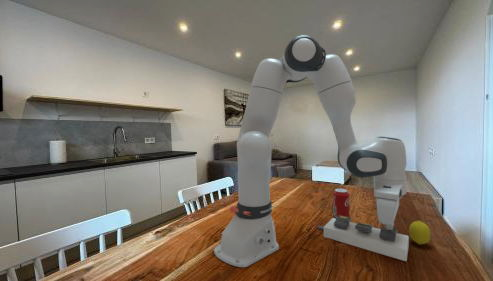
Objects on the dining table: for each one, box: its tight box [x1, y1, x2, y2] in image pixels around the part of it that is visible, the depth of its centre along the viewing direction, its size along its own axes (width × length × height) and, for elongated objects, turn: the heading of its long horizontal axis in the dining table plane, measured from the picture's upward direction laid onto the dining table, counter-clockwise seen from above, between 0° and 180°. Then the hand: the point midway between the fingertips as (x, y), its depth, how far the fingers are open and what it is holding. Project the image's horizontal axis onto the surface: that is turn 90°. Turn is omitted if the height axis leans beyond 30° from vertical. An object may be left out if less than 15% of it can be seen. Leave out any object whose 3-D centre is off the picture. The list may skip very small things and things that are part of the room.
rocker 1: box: [334, 215, 352, 229], centre depth 78 cm, size 6×4×2 cm, turn 140°
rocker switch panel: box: [317, 217, 410, 262], centre depth 74 cm, size 10×28×4 cm, turn 50°
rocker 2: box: [355, 221, 373, 232], centre depth 73 cm, size 6×4×2 cm, turn 140°
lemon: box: [408, 220, 432, 246], centre depth 70 cm, size 6×6×8 cm
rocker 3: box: [379, 224, 398, 241], centre depth 69 cm, size 6×4×2 cm, turn 140°
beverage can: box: [332, 188, 350, 219], centre depth 93 cm, size 6×6×12 cm
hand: (389, 227), depth 70 cm, fingers closed, pressing on rocker 3
